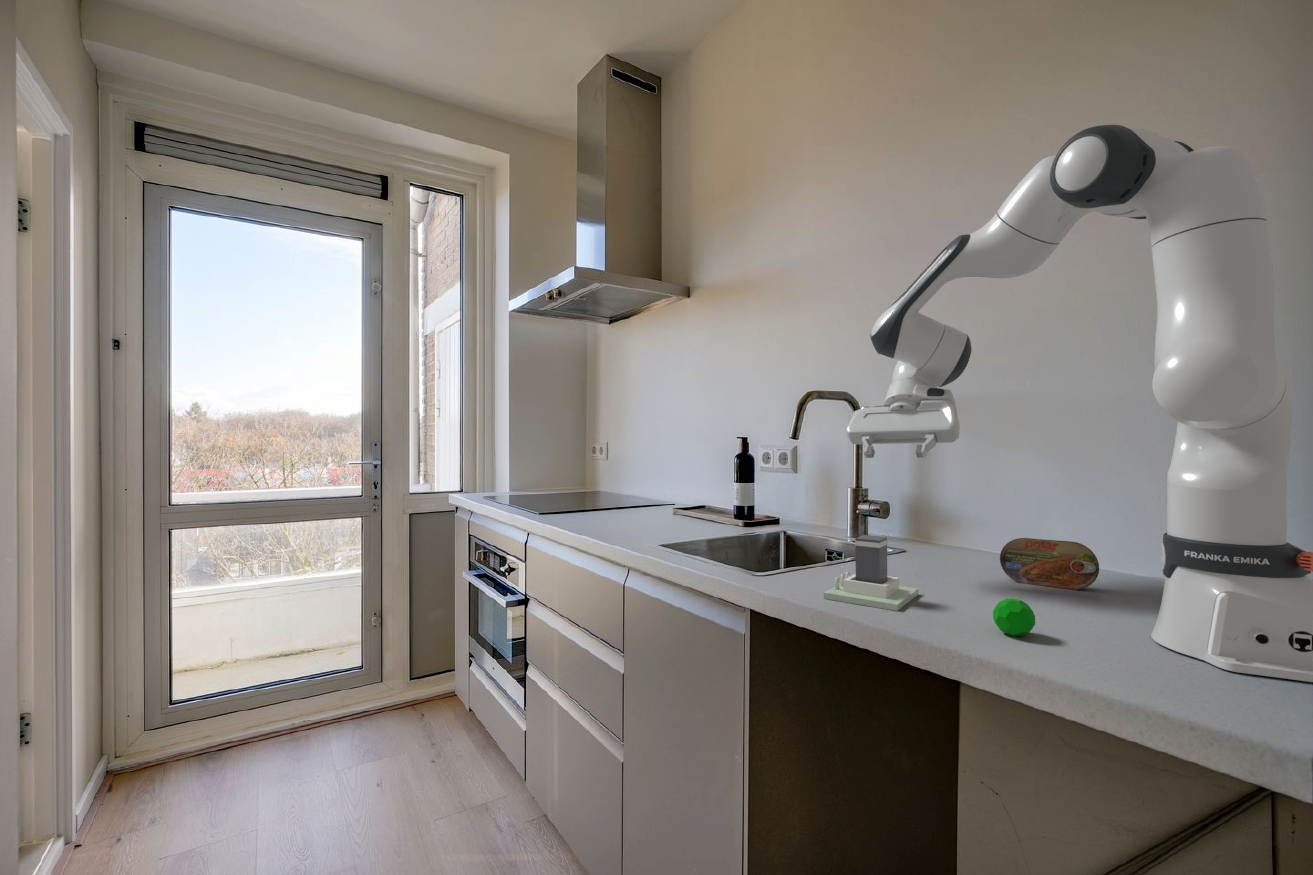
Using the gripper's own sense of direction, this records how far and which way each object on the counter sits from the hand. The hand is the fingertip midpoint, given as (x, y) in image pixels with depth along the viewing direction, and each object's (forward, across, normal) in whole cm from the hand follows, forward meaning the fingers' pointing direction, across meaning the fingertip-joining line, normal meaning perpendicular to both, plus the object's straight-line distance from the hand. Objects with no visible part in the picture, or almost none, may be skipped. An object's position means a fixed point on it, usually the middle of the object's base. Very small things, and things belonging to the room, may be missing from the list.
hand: (893, 455), depth 112 cm
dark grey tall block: (+24, -1, +7) cm, 26 cm away
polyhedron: (+31, +21, +3) cm, 38 cm away
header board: (+25, -1, +8) cm, 27 cm away
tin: (+7, +22, +27) cm, 36 cm away
